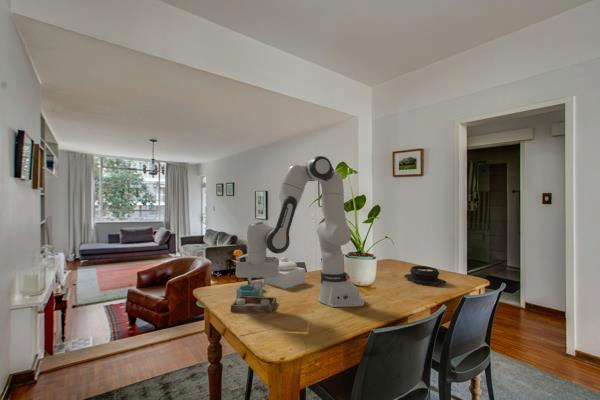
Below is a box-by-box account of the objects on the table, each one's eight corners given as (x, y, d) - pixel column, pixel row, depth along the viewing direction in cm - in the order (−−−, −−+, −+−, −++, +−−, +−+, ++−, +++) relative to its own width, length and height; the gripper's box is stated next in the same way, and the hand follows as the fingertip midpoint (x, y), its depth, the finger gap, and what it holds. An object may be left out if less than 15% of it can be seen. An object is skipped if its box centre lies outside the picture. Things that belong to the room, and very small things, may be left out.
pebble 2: (262, 288, 136) (262, 280, 136) (261, 291, 132) (260, 282, 132) (254, 288, 136) (254, 280, 136) (252, 291, 132) (252, 282, 132)
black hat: (397, 279, 182) (397, 266, 182) (413, 275, 194) (413, 263, 194) (436, 289, 162) (436, 274, 162) (451, 284, 174) (452, 270, 174)
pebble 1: (246, 307, 130) (246, 298, 130) (243, 310, 127) (243, 301, 127) (237, 307, 131) (238, 298, 131) (235, 310, 127) (235, 301, 127)
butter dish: (305, 283, 173) (305, 256, 174) (284, 289, 160) (284, 261, 160) (284, 277, 185) (284, 253, 185) (263, 283, 171) (263, 256, 172)
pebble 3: (269, 308, 129) (269, 299, 129) (268, 311, 126) (268, 302, 126) (261, 308, 130) (261, 299, 130) (259, 311, 126) (259, 302, 126)
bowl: (263, 294, 151) (263, 284, 151) (258, 301, 139) (258, 292, 139) (241, 293, 152) (241, 284, 152) (234, 300, 140) (234, 291, 140)
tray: (276, 303, 137) (276, 297, 137) (271, 314, 124) (271, 307, 124) (239, 302, 138) (239, 296, 138) (230, 312, 125) (230, 305, 125)
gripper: (280, 255, 136) (280, 284, 136) (238, 256, 138) (238, 284, 138) (277, 258, 130) (278, 288, 130) (233, 258, 132) (234, 288, 132)
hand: (257, 286), depth 134 cm, fingers closed on pebble 2, 4 cm apart
